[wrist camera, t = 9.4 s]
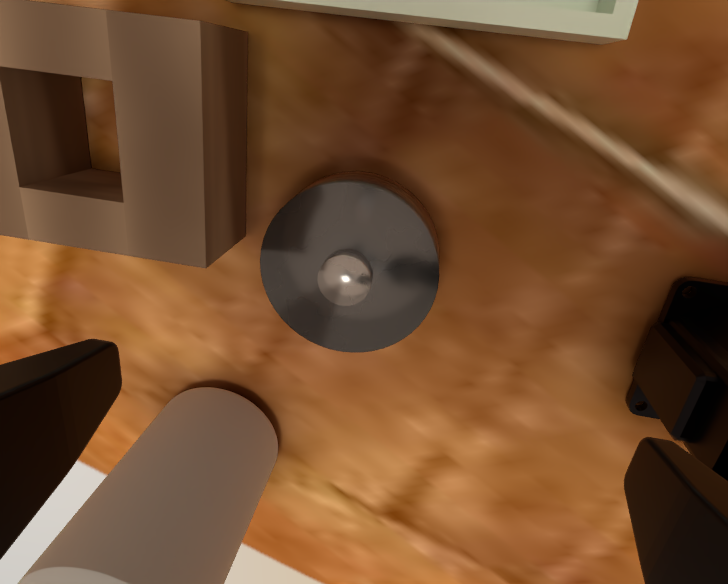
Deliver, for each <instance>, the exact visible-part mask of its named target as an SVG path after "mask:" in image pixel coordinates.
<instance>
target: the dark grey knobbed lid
mask: <svg viewBox="0 0 728 584" xmlns="http://www.w3.org/2000/svg"><path fill="white" fill-rule="evenodd" d="M260 268H261V276H262V281H263V285H264V288H265V291H266V293H267V296H268V298H269V300H270V302H271V304H272V305H273V307H274V309H275V310H276V312H277V313H278V314H279V316H280V317H281V318H282V319H283V320H284V321H285V322H286V323H287V324H288V325H289V326H290V327H291V328H292V329H293V330H294V331H296V332H297V333H298V334H299V335H301V336H303V337H304V338H306V339H307V340H309V341H311V342H313V343H315V344H317V345H320V346H323V347H326V348H328V349H332V350H337V351H343V352H368V351H374V350H378V349H382V348H385V347H388V346H390V345H393V344H395V343H397V342H398V341H400V340H402V339H404V338H405V337H406V336H408V335H409V334H411V333H412V332H413V331H414V330H415V329H416V328H417V327H418V326H419V325H420V324H421V322H422V321H423V320H424V319H425V317H426V316H427V314H428V312H429V311H430V309H431V307H432V304H433V302H434V300H435V296H436V292H437V289H438V281H439V243H438V237H437V233H436V230H435V227H434V224H433V222H432V220H431V218H430V215H429V214H428V212H427V211H426V209H425V208H424V206H423V205H422V204H421V202H420V201H419V200H418V199H417V198H416V197H415V196H414V195H413V194H412V193H411V192H410V191H409V190H407V189H406V188H404V187H403V186H401V185H400V184H399V183H397V182H395V181H393V180H391V179H389V178H386V177H383V176H381V175H378V174H373V173H368V172H359V171H351V172H341V173H336V174H332V175H329V176H326V177H323V178H321V179H319V180H317V181H315V182H313V183H312V184H311V185H309V186H308V187H306V188H305V189H304V190H302V191H301V192H300V193H299V194H298V195H296V196H295V197H294V198H293V199H291V200H290V201H289V202H288V203H287V204H286V205H285V206H284V207H283V208H282V209H280V211H279V212H278V213H277V214H276V216H275V217H274V218H273V220H272V222H271V223H270V225H269V227H268V229H267V231H266V234H265V236H264V239H263V244H262V248H261V256H260Z"/></svg>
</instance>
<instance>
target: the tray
mask: <svg viewBox="0 0 728 584" xmlns="http://www.w3.org/2000/svg"><path fill="white" fill-rule="evenodd" d="M226 1H229V2H232V3H240V4H249V5H258V6H266V7H275V8H284V9H293V10H302V11H310V12H319V13H328V14H337V15H346V16H354V17H363V18H372V19H381V20H389V21H398V22H407V23H416V24H425V25H433V26H442V27H451V28H460V29H469V30H477V31H486V32H495V33H504V34H513V35H521V36H530V37H539V38H548V39H557V40H565V41H574V42H583V43H592V44H601V45H602V44H607V43H612V42H617V41H622V40H627V37H628V34H629V31H630V27H631V24H632V20H633V17H634V14H635V10H636V7H637V4H638V0H226Z"/></svg>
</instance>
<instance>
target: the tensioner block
mask: <svg viewBox="0 0 728 584" xmlns="http://www.w3.org/2000/svg"><path fill="white" fill-rule="evenodd" d="M247 64H248V32H245V31H241V30H237V29H233V28H228V27H224V26H220V25H216V24H212V23H207V22H203V21H198V20H189V19H181V18H172V17H164V16H155V15H147V14H138V13H130V12H121V11H113V10H104V9H96V8H87V7H79V6H70V5H62V4H53V3H45V2H36V1H28V0H0V235H4V236H10V237H16V238H22V239H28V240H34V241H41V242H47V243H53V244H59V245H65V246H71V247H78V248H84V249H90V250H96V251H102V252H108V253H115V254H121V255H127V256H133V257H139V258H145V259H152V260H158V261H164V262H170V263H176V264H182V265H189V266H195V267H201V268H207V267H208V266H209V265H211V264H212V263H213V262H214V261H216V260H217V259H218V258H219V257H221V256H222V255H223V254H224V253H225V252H227V251H228V250H229V249H230V248H232V247H233V246H234V245H235V244H237V243H238V242H239V241H240V240H241V239H243V238H244V237H245V233H246V149H247ZM80 77H86V78H94V79H102V80H109V81H112V82H113V93H114V104H115V114H116V125H117V136H118V147H119V157H120V168H121V173H118V172H111V171H105V170H98V169H91V164H90V155H89V147H88V138H87V130H86V121H85V113H84V104H83V96H82V87H81V79H80Z"/></svg>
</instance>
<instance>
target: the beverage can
mask: <svg viewBox="0 0 728 584" xmlns="http://www.w3.org/2000/svg"><path fill="white" fill-rule="evenodd" d="M277 455H278V441H277V436H276V433H275V430H274V428H273V426H272V424H271V422H270V421H269V419H268V418H267V417H266V415H265V414H264V413H263V412H262V411H261V410H260V409H259V408H258V407H257V406H256V405H254V404H253V403H252V402H250V401H249V400H247V399H246V398H244V397H242V396H240V395H238V394H236V393H233V392H231V391H228V390H224V389H220V388H212V387H201V388H194V389H190V390H187V391H184V392H182V393H180V394H178V395H177V396H175V397H174V398H173V399H172V400H170V401H169V402H168V404H167V405H166V406H165V407H164V408H163V410H162V411H161V412H160V413H159V414H158V416H157V417H156V418H155V419H154V420H153V422H152V423H151V424H150V425H149V426H148V428H147V429H146V430H145V431H144V432H143V434H142V435H141V436H140V437H139V438H138V440H137V441H136V442H135V443H134V444H133V446H132V447H131V448H130V449H129V450H128V452H127V453H126V454H125V455H124V456H123V458H122V459H121V460H120V461H119V462H118V464H117V465H116V466H115V467H114V468H113V470H112V471H111V472H110V473H109V474H108V476H107V477H106V478H105V479H104V480H103V482H102V483H101V484H100V485H99V486H98V488H97V489H96V490H95V491H94V492H93V494H92V495H91V496H90V497H89V498H88V500H87V501H86V502H85V503H84V504H83V506H82V507H81V508H80V509H79V510H78V512H77V513H76V514H75V515H74V516H73V518H72V519H71V520H70V521H69V522H68V524H67V525H66V526H65V527H64V529H63V530H62V531H61V532H60V533H59V534H58V536H57V537H56V538H55V539H54V540H53V542H52V543H51V544H50V545H49V546H48V548H47V549H46V550H45V551H44V552H43V554H42V555H41V556H40V557H39V558H38V560H37V561H36V562H35V563H34V564H33V566H32V567H31V568H30V569H29V570H28V572H27V573H26V574H25V575H24V576H23V578H22V579H21V580H20V581H19V582H18V584H224V582H225V580H226V578H227V575H228V573H229V571H230V568H231V566H232V564H233V561H234V559H235V557H236V554H237V552H238V549H239V547H240V545H241V542H242V540H243V538H244V535H245V533H246V531H247V528H248V526H249V524H250V521H251V519H252V517H253V514H254V512H255V509H256V507H257V505H258V502H259V500H260V498H261V495H262V493H263V491H264V488H265V486H266V484H267V481H268V479H269V477H270V474H271V472H272V469H273V467H274V465H275V462H276V459H277Z"/></svg>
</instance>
